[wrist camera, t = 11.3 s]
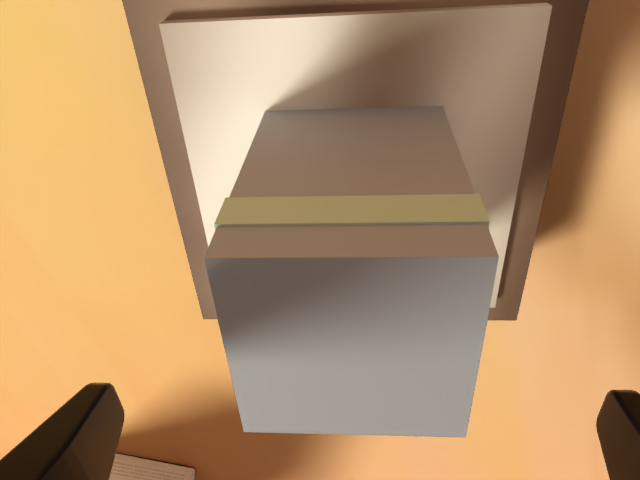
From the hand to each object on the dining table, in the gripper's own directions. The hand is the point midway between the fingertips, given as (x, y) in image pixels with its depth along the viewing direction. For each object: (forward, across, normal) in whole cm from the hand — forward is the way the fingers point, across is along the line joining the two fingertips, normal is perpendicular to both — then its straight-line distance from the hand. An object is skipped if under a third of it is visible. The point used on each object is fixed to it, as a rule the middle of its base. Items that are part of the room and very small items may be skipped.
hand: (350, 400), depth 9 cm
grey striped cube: (+8, 0, 0) cm, 8 cm away
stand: (+12, 0, 0) cm, 12 cm away
